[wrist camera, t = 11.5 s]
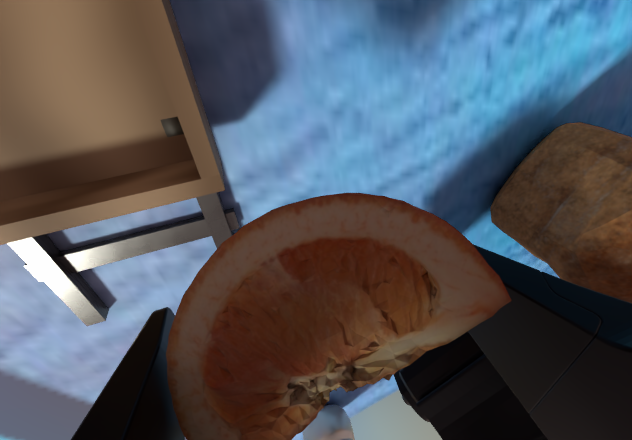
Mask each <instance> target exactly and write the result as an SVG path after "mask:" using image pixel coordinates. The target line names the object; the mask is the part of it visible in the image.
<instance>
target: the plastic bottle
mask: <svg viewBox="0 0 632 440" xmlns="http://www.w3.org/2000/svg"><path fill="white" fill-rule="evenodd" d="M303 440H354V434H353V429H352V426H351V422H350V419H349V417H348V415H347V414H346V412H345V410H344V409H342V408H341V407H340V406H339V405H335V404H332V405H326V406H324V408H323V409H322V410H321V411H319V412H318V415H317V417H316V418H315V419H314V420H313V421H312V422H311V423H310V424H309V425H308V426H307V427H306V428H305V429H304V430H303Z"/></svg>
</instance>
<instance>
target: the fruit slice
mask: <svg viewBox="0 0 632 440" xmlns="http://www.w3.org/2000/svg"><path fill="white" fill-rule="evenodd" d="M510 301H512V300H511V298H510V296H509V294H508V292H507V290H506V288H505V286H504V284H503V282H502V280H501V278H500V276H499V275H498V274H497V273H496V272H495V271H494V270H493V269H492V268H491V267H490V266H489V265H488V263H487V262H486V261H485V259H484V258H483V257H482V256H481V254H480V253H479V252H478V251H477V249H476V248H475V247H474V246H473V244H472V243H471V242H470V241H469V240H468V239H467V238H466V237H465V236H463V235H462V234H461V233H460V232H459V231H458V230H457V229H455V228H454V227H453V226H451V225H450V224H449V223H447V222H446V221H444V220H442V219H441V218H439V217H437V216H435V215H434V214H432V213H429V212H427V211H424V210H422V209H419V208H417V207H415V206H412V205H410V204H408V203H406V202H404V201H401V200H397V199H392V198H388V197H385V196H376V195H369V194H363V193H342V194H334V195H326V196H320V197H314V198H310V199H306V200H303V201H299V202H296V203H292V204H288V205H285V206H282V207H279V208H276V209H274V210H271V211H270V212H268V213H266V214H264V215H262V216H261V217H259V218H257V219H255V220H253V221H252V222H250V223H248V224H246V225H244V226H243V227H242V228H241V229H240V230H238V231H237V232H236V233H235V234H234V235H232V236H231V237H230V238H228V239H227V240H225V241H224V242H223V243H222V244H221V245H220V246H219V248H218V249H217V250H216V251H215V252H214V254H213V255H212V256H211V257H210V258H209V260H208V261H207V262H206V263H205V265H204V266H203V267H202V268H201V269H200V271H199V272H198V274H197V275H196V277H195V278H194V280H193V282H192V283H191V285H190V286H189V288H188V289H187V291H186V292H185V294H184V295H183V298H182V300H181V303H180V305H179V307H178V310H177V313H176V315H175V318H174V321H173V324H172V327H171V330H170V333H169V338H168V346H167V351H166V358H167V379H168V385H169V390H170V393H171V397H172V402H173V408H174V411H175V414H176V416H177V419H178V422H179V426H180V428H181V430H182V432H183V435H184V436H185V437H186V439H187V440H292V438H293V437H294V436H295V435H296V434H298V433H300V432H302V431H303V430H304V429H305V428H306V427H307V426H308V425H309V424H310V423H311V422H312V421H313V420H314V419H315V418H316V417H317V415H318V412H319V411H321V410H322V409H323V408H324V406H325V404H326V403H327V402H328V401H329V392H331V391H332V390H336V391H337V389H336V388H339V387H342V388H343V389H344V390H345V391H346V392H348V391H354V390H355V389H357V388H358V387H363V386H364V385H366V384H375V383H376V382H377V381H380V380H381V379H382V378H385V379H386V380H390V378H391V376H392V374H395V372H397V371H398V370H400V369H402V368H404V367H407V366H409V365H410V364H412V363H413V362H414V361H415V360H417V359H418V358H419V357H421V356H422V355H423V354H424V353H425V352H426V351H428V350H431V349H434V348H436V347H439V346H442V345H445V344H448V343H450V342H451V341H453V340H455V339H456V338H458V337H460V336H461V335H463V334H464V333H466V332H467V331H469V330H470V329H472V328H473V327H475V326H477V325H478V324H480V323H481V322H483V321H485V320H487V319H489V318H490V317H492V316H493V315H494V314H495V313H496V312H497V311H498V310H499V309H500V308H501V307H503V306H504V305H506V304H507V303H509V302H510Z"/></svg>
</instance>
